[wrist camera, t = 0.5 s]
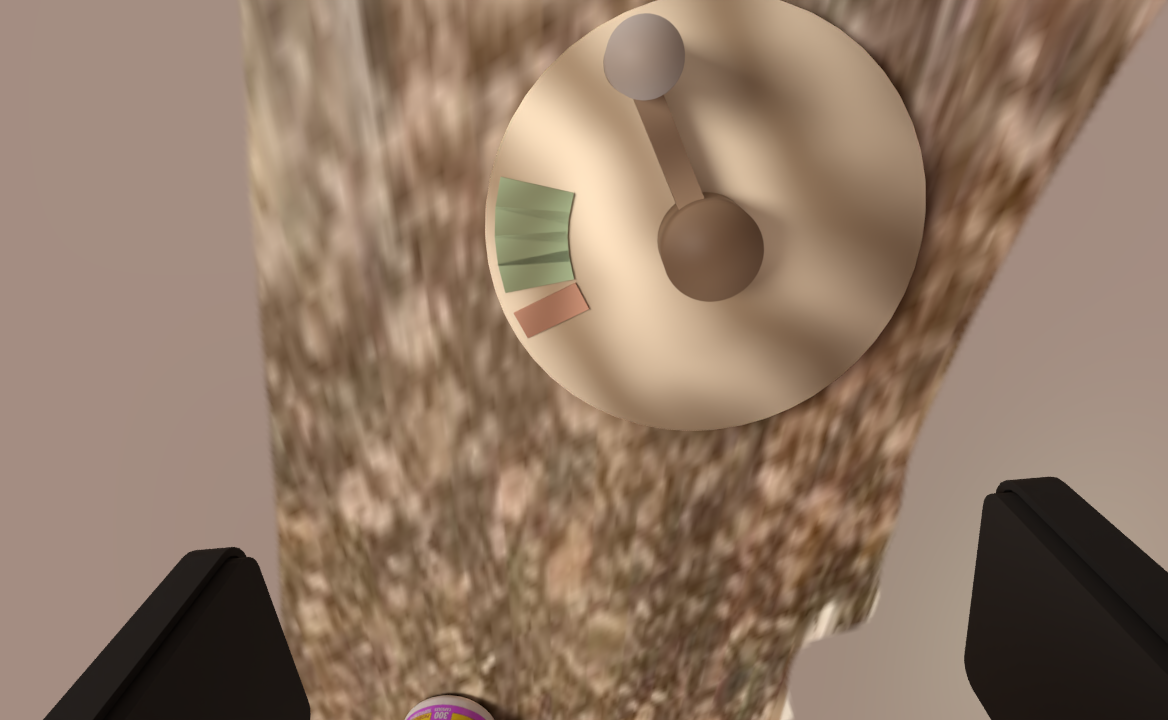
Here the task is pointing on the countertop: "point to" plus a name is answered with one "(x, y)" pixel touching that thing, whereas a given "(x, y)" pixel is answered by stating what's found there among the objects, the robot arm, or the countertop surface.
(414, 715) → the supplement bottle
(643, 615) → the countertop surface
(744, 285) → the lever
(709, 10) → the dial plate
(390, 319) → the countertop surface
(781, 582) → the countertop surface
